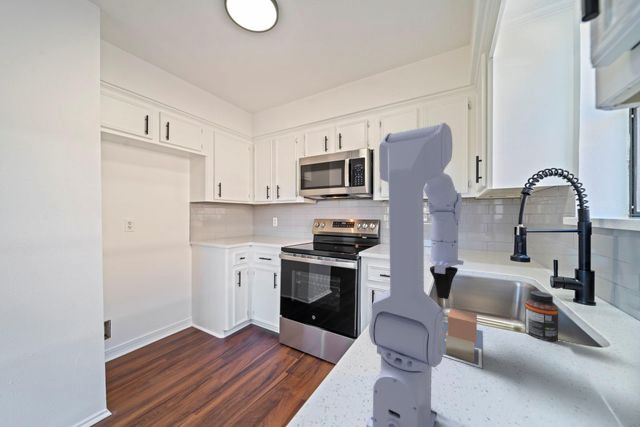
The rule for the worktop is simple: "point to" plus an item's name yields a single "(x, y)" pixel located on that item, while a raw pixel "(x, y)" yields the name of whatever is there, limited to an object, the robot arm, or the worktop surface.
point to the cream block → (460, 348)
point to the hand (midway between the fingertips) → (443, 297)
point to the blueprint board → (477, 353)
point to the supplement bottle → (542, 317)
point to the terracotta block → (462, 325)
